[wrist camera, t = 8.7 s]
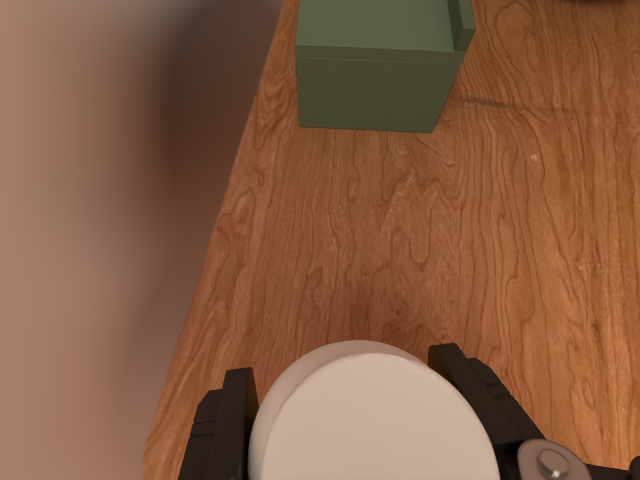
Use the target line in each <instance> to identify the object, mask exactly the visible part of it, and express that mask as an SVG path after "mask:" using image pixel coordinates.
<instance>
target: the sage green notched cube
mask: <svg viewBox="0 0 640 480" xmlns="http://www.w3.org/2000/svg"><path fill="white" fill-rule="evenodd" d="M475 30H476V27H475V22H474V16H473V11H472V5H471V0H300V1H299V10H298V19H297V28H296V37H295V58H296V76H297V94H298V111H299V126H300V127H319V128H340V129H361V130H382V131H404V132H425V133H432V131H433V129H434V127H435V124H436V122H437V120H438V117H439V115H440V113H441V110H442V108H443V105H444V103H445V101H446V98H447V96H448V94H449V91H450V89H451V87H452V84H453V82H454V79H455V77H456V75H457V72H458V70H459V68H460V65H461V63H462V61H463V58H464V56H465V54H466V51H467V49H468V47H469V44H470V42H471V40H472V37H473V35H474V32H475Z"/></svg>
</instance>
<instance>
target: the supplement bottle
mask: <svg viewBox="0 0 640 480" xmlns="http://www.w3.org/2000/svg"><path fill="white" fill-rule="evenodd" d="M247 474H248V480H500V475H499V470H498V465H497V461H496V458H495V454H494V451H493V448H492V445H491V443H490V440H489V438H488V435H487V433H486V431H485V429H484V427H483V425H482V423H481V422H480V420H479V418H478V417H477V415H476V414H475V412H474V410H473V409H472V407H471V406H470V405H469V403H468V402H467V401H466V399H465V398H464V397H463V396H462V395H461V394H460V393H459V391H458V390H457V389H456V388H455V387H454V386H453V385H451V384H450V383H449V382H448V381H447V380H446V379H444V378H443V377H442V376H441V375H439V374H438V373H437V372H435V371H433V370H432V369H430V368H429V367H428V366H427V365H426V364H424V363H423V362H422V361H420V360H419V359H418V358H416V357H414V356H413V355H411V354H409V353H407V352H405V351H403V350H401V349H399V348H397V347H394V346H391V345H388V344H384V343H381V342H375V341H368V340H349V341H341V342H336V343H332V344H328V345H325V346H322V347H319V348H317V349H315V350H313V351H310V352H308V353H307V354H305V355H304V356H302V357H301V358H299V359H298V360H296V361H295V362H294V363H293V364H291V365H290V366H289V367H288V368H287V369H286V370H285V371H284V372H283V373H282V374H281V375H280V376H279V377H278V379H277V380H276V381H275V382H274V384H273V385H272V386H271V388H270V389H269V391H268V393H267V394H266V396H265V398H264V400H263V401H262V403H261V406H260V408H259V410H258V413H257V415H256V418H255V421H254V425H253V428H252V431H251V436H250V441H249V447H248V457H247Z"/></svg>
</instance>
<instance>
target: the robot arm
mask: <svg viewBox="0 0 640 480" xmlns="http://www.w3.org/2000/svg"><path fill="white" fill-rule="evenodd" d="M428 367H429V368H430V369H432V370H433V371H435V372H437V373H438V374H439V375H441V376H442V377H443V378H444V379H446V380H447V381H448V382H449V383H450V384H451V385H453V386H454V387H455V388H456V389H457V390H458V391H459V393H460V394H461V395H462V396H463V397H464V398H465V399H466V401H467V402H468V403H469V405H470V406H471V407H472V409H473V410H474V412H475V414H476V415H477V417H478V418H479V420H480V422H481V423H482V425H483V427H484V429H485V431H486V433H487V435H488V438H489V440H490V443H491V445H492V448H493V451H494V454H495V458H496V461H497V465H498V470H499V475H500V480H640V456H637V457H635V458H634V459H633V460H632V461H631V464H630V467H629V470H621V469H615V468H609V467H602V466H596V465H591V464H586V463H584V462H583V461H582V460H581V459H580V458H579V457H578V456H577V455H576V454H575V453H573V452H572V451H571V450H569V449H568V448H566V447H564V446H562V445H560V444H558V443H556V442H553V441H549V440H547V439H546V438H545V437H544V435H543V434H542V433H541V432H540V430H539V429H538V428H537V427H536V425H535V424H534V423H533V421H532V420H531V419H530V418H529V416H528V415H527V414H526V413H525V411H524V410H523V409H522V407H521V406H520V405H519V404H518V402H517V401H516V400H515V399H514V397H513V396H512V395H510V392H509V391H508V390H507V388H506V387H505V386H504V384H502V383H501V381H500V379H499V378H498V377H497V376H496V374H495V373H494V372H493V370H492V369H491V368H490V367H488V366H487V365H485V364H484V363H482V362H481V361H479V360H478V359H477V358H468V359H467V358H466V357H465V355H464V354H463V353H462V351H461V350H460V348H459V347H458V346H457V344H455V343H447V344H439V345H431V346H430V347H429V350H428ZM258 410H259V404H258V398H257V392H256V386H255V380H254V374H253V369H252V367H248V368H240V369H232V370H227V371H226V374H225V378H224V383H223V388H222V389H217V390H209V391H208V393H207V394H206V395H205V397H204V398H203V399H202V401H201V402H200V403H199V404H198V407H197V411H196V414H195V418H194V424H193V425H192V429H191V433H190V438H189V440H188V444H187V447H186V451H185V454H184V458H183V462H182V465H181V469H180V473H179V476H178V480H248V474H247V457H248V447H249V441H250V436H251V431H252V428H253V425H254V421H255V418H256V415H257V413H258Z"/></svg>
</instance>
